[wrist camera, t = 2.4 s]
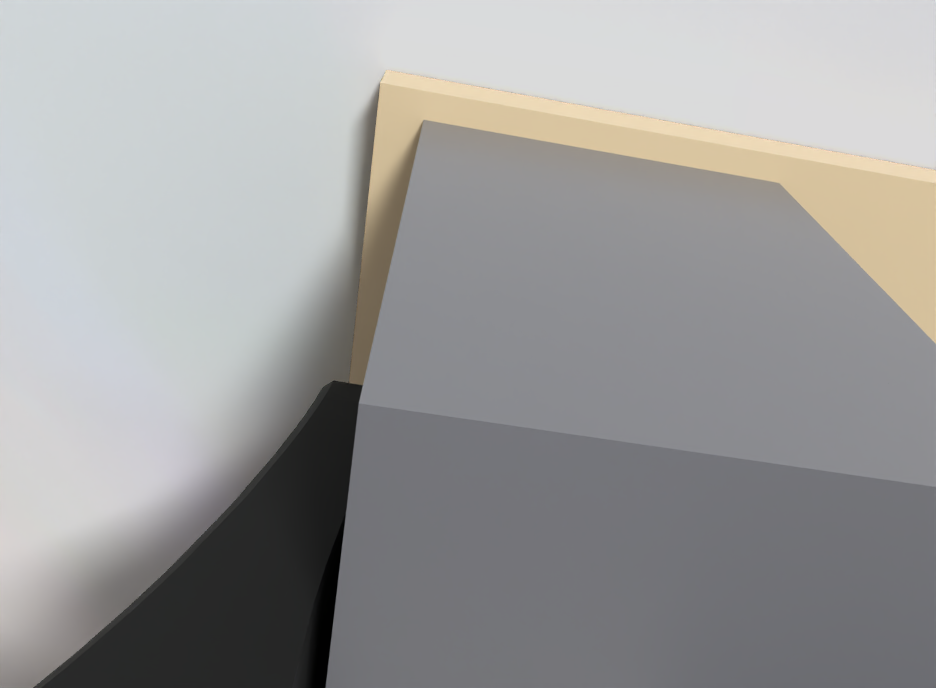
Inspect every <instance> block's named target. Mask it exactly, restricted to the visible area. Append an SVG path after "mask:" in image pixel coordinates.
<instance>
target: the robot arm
mask: <svg viewBox="0 0 936 688" xmlns="http://www.w3.org/2000/svg"><path fill="white" fill-rule="evenodd" d="M362 387H363V385H359V384H352V383H345V382H338V381H332V382H331V383H329V384H328V385H326V386H324V387H323V388H322V390H321V391H320V393H319V395H318V396H317V398H316V400H315V401H314V403H313V404H312V406H311V407H310V409H309V410H308V412H307V413H306V414H305V416H304V417H303V419H302V420H301V421H300V423H299V424H298V425H297V427H296V428H295V429H294V431H293V432H292V433H291V435H290V436H289V437H288V438H287V440H286V441H285V442H284V444H283V445H282V446H281V447H280V449H279V450H278V451H277V452H276V454H275V455H274V456H273V457H272V458H271V460H270V461H269V462H268V463H267V464H266V465H265V467H264V468H263V469H262V470H261V471H260V472H259V474H258V475H257V476H256V477H255V478H254V479H253V481H252V482H251V483H250V484H249V485H248V486H247V487H246V489H245V490H244V491H243V492H242V493H241V494H240V496H239V497H238V498H237V499H236V500H235V501H234V502H233V503H232V505H231V506H230V507H229V508H228V509H227V510H226V511H225V512H224V513H223V514H222V515H221V516H220V517H219V518H218V519H217V520H216V521H215V522H214V523H213V524H212V525H211V527H210V528H209V529H208V530H207V531H206V532H205V533H204V534H203V535H202V536H201V537H200V538H199V539H198V540H197V541H196V542H195V543H194V544H193V545H192V546H191V547H190V548H189V549H188V550H187V551H186V552H185V553H184V554H183V555H182V556H181V557H180V558H179V559H178V560H177V561H176V562H175V563H174V564H173V565H172V566H171V567H170V568H169V569H168V570H167V571H166V572H165V573H164V574H163V575H162V576H161V577H160V578H159V579H158V580H157V581H156V582H155V583H154V584H153V585H151V586H150V587H149V588H148V589H147V590H146V591H145V592H144V593H143V594H142V595H141V596H140V597H139V598H138V599H136V600H135V601H134V602H133V603H132V604H131V605H130V606H129V607H128V608H127V609H126V610H124V611H123V612H122V613H121V614H120V615H119V616H118V617H117V618H115V619H114V620H113V621H112V622H111V623H110V624H109V625H107V626H106V627H105V628H104V629H103V630H102V631H101V632H99V633H98V634H97V635H96V636H95V637H94V638H93V639H92V640H90V641H89V642H88V643H87V644H86V645H85V646H84V647H82V648H81V649H80V650H79V651H78V652H76V653H75V654H74V655H73V656H72V657H71V658H69V659H68V660H67V661H66V662H64V663H63V664H62V665H61V666H59V667H58V668H57V669H56V670H55V671H53V672H52V673H51V674H50V675H48V676H47V677H46V678H45V679H44V680H42V681H41V682H40V683H39V684H37V685H36V686H35V687H34V688H326V680H327V672H328V663H329V655H330V646H331V638H332V629H333V620H334V612H335V603H336V595H337V586H338V578H339V569H340V560H341V552H342V543H343V535H344V526H345V518H346V509H347V500H348V492H349V483H350V475H351V466H352V458H353V449H354V440H355V432H356V423H357V415H358V406H359V400H360V396H361V392H362Z"/></svg>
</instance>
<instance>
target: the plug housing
mask: <svg viewBox="0 0 936 688" xmlns="http://www.w3.org/2000/svg"><path fill="white" fill-rule="evenodd" d="M326 688H936V344H935V343H934V341H933V340H932V339H931V338H930V337H929V336H928V335H927V334H926V333H925V332H924V331H923V330H922V329H921V328H920V327H919V326H918V325H917V324H916V323H915V322H914V321H913V320H912V319H911V318H910V317H909V316H908V315H907V314H906V313H905V312H904V311H903V310H902V309H901V308H900V307H899V306H898V305H897V303H896V302H895V301H894V300H893V299H892V298H891V297H890V296H889V295H888V294H887V293H886V292H885V291H884V290H883V289H882V288H881V287H880V286H879V285H878V284H877V283H876V282H875V281H874V280H873V279H872V278H871V277H870V276H869V275H868V274H867V273H866V272H865V271H864V270H863V269H862V268H861V267H860V265H859V264H858V263H857V262H856V261H855V260H854V259H853V258H852V257H851V256H850V255H849V254H848V253H847V252H846V251H845V250H844V249H843V248H842V247H841V246H840V245H839V244H838V243H837V242H836V241H835V240H834V239H833V238H832V237H831V236H830V235H829V234H828V233H827V232H826V231H825V230H824V229H823V228H822V226H821V225H820V224H819V223H818V222H817V221H816V220H815V219H814V218H813V217H812V216H811V215H810V214H809V213H808V212H807V211H806V210H805V209H804V208H803V207H802V206H801V205H800V204H799V203H798V202H797V201H796V200H795V199H794V198H793V197H792V196H791V195H790V194H789V193H788V192H787V191H786V190H785V188H784V187H783V186H782V185H781V184H780V183H777V182H771V181H766V180H760V179H754V178H749V177H743V176H737V175H732V174H726V173H721V172H715V171H709V170H704V169H698V168H692V167H687V166H681V165H676V164H670V163H664V162H659V161H653V160H647V159H642V158H636V157H630V156H625V155H619V154H614V153H608V152H602V151H597V150H591V149H585V148H580V147H574V146H569V145H563V144H557V143H552V142H546V141H540V140H535V139H529V138H524V137H518V136H512V135H507V134H501V133H495V132H490V131H484V130H479V129H473V128H467V127H462V126H456V125H450V124H445V123H439V122H434V121H428V120H423V125H422V129H421V133H420V138H419V142H418V147H417V151H416V155H415V160H414V164H413V168H412V173H411V177H410V182H409V186H408V190H407V195H406V199H405V203H404V208H403V212H402V217H401V221H400V225H399V230H398V234H397V238H396V243H395V247H394V252H393V256H392V260H391V265H390V269H389V274H388V278H387V282H386V287H385V291H384V295H383V300H382V304H381V309H380V313H379V317H378V322H377V326H376V330H375V335H374V339H373V344H372V348H371V352H370V357H369V361H368V365H367V370H366V374H365V379H364V383H363V387H362V392H361V396H360V400H359V406H358V415H357V423H356V432H355V440H354V449H353V458H352V466H351V475H350V483H349V492H348V500H347V509H346V518H345V526H344V535H343V543H342V552H341V560H340V569H339V578H338V586H337V595H336V603H335V612H334V620H333V629H332V638H331V646H330V655H329V663H328V672H327V680H326Z"/></svg>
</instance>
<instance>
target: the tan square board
mask: <svg viewBox="0 0 936 688" xmlns="http://www.w3.org/2000/svg"><path fill="white" fill-rule="evenodd" d="M423 120H428V121H434V122H439V123H445V124H450V125H456V126H462V127H467V128H473V129H479V130H484V131H490V132H495V133H501V134H507V135H512V136H518V137H524V138H529V139H535V140H540V141H546V142H552V143H557V144H563V145H569V146H574V147H580V148H585V149H591V150H597V151H602V152H608V153H614V154H619V155H625V156H630V157H636V158H642V159H647V160H653V161H659V162H664V163H670V164H676V165H681V166H687V167H692V168H698V169H704V170H709V171H715V172H721V173H726V174H732V175H737V176H743V177H749V178H754V179H760V180H766V181H771V182H777V183H780V184H781V185H782V186H783V187H784V188H785V190H786V191H787V192H788V193H789V194H790V195H791V196H792V197H793V198H794V199H795V200H796V201H797V202H798V203H799V204H800V205H801V206H802V207H803V208H804V209H805V210H806V211H807V212H808V213H809V214H810V215H811V216H812V217H813V218H814V219H815V220H816V221H817V222H818V223H819V224H820V225H821V226H822V228H823V229H824V230H825V231H826V232H827V233H828V234H829V235H830V236H831V237H832V238H833V239H834V240H835V241H836V242H837V243H838V244H839V245H840V246H841V247H842V248H843V249H844V250H845V251H846V252H847V253H848V254H849V255H850V256H851V257H852V258H853V259H854V260H855V261H856V262H857V263H858V264H859V265H860V267H861V268H862V269H863V270H864V271H865V272H866V273H867V274H868V275H869V276H870V277H871V278H872V279H873V280H874V281H875V282H876V283H877V284H878V285H879V286H880V287H881V288H882V289H883V290H884V291H885V292H886V293H887V294H888V295H889V296H890V297H891V298H892V299H893V300H894V301H895V302H896V303H897V305H898V306H899V307H900V308H901V309H902V310H903V311H904V312H905V313H906V314H907V315H908V316H909V317H910V318H911V319H912V320H913V321H914V322H915V323H916V324H917V325H918V326H919V327H920V328H921V329H922V330H923V331H924V332H925V333H926V334H927V335H928V336H929V337H930V338H931V339H932V340H933V341H934V343H935V344H936V170H932V169H927V168H921V167H916V166H910V165H905V164H899V163H894V162H888V161H883V160H877V159H872V158H866V157H861V156H855V155H850V154H844V153H839V152H833V151H828V150H823V149H817V148H812V147H806V146H801V145H795V144H790V143H784V142H779V141H773V140H768V139H762V138H757V137H751V136H746V135H740V134H735V133H729V132H724V131H718V130H713V129H707V128H702V127H697V126H691V125H686V124H680V123H675V122H669V121H664V120H658V119H653V118H647V117H642V116H636V115H631V114H625V113H620V112H614V111H609V110H603V109H598V108H592V107H587V106H581V105H576V104H570V103H565V102H560V101H554V100H549V99H543V98H538V97H532V96H527V95H521V94H516V93H510V92H505V91H499V90H494V89H488V88H483V87H477V86H472V85H466V84H461V83H455V82H450V81H444V80H439V79H434V78H428V77H423V76H417V75H412V74H406V73H401V72H395V71H390V70H386V72H385V74H384V76H383V78H382V80H381V82H380V90H379V100H378V109H377V119H376V128H375V138H374V147H373V157H372V166H371V176H370V185H369V195H368V204H367V214H366V223H365V233H364V242H363V252H362V261H361V271H360V280H359V290H358V299H357V309H356V318H355V328H354V337H353V347H352V356H351V366H350V375H349V383H352V384H359V385H363V383H364V379H365V374H366V370H367V365H368V361H369V357H370V352H371V348H372V344H373V339H374V335H375V330H376V326H377V322H378V317H379V313H380V309H381V304H382V300H383V295H384V291H385V287H386V282H387V278H388V274H389V269H390V265H391V260H392V256H393V252H394V247H395V243H396V238H397V234H398V230H399V225H400V221H401V217H402V212H403V208H404V203H405V199H406V195H407V190H408V186H409V182H410V177H411V173H412V168H413V164H414V160H415V155H416V151H417V147H418V142H419V138H420V133H421V129H422V125H423Z"/></svg>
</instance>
